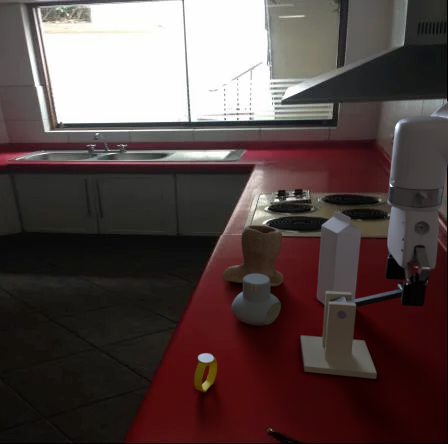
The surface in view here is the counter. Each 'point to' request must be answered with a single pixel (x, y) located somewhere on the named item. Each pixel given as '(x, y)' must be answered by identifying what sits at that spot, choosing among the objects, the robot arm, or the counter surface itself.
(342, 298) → the lever
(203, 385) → the watch
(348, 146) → the counter surface
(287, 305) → the counter surface
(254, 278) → the air freshener
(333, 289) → the milk
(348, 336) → the cream lever stand
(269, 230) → the tan boot
